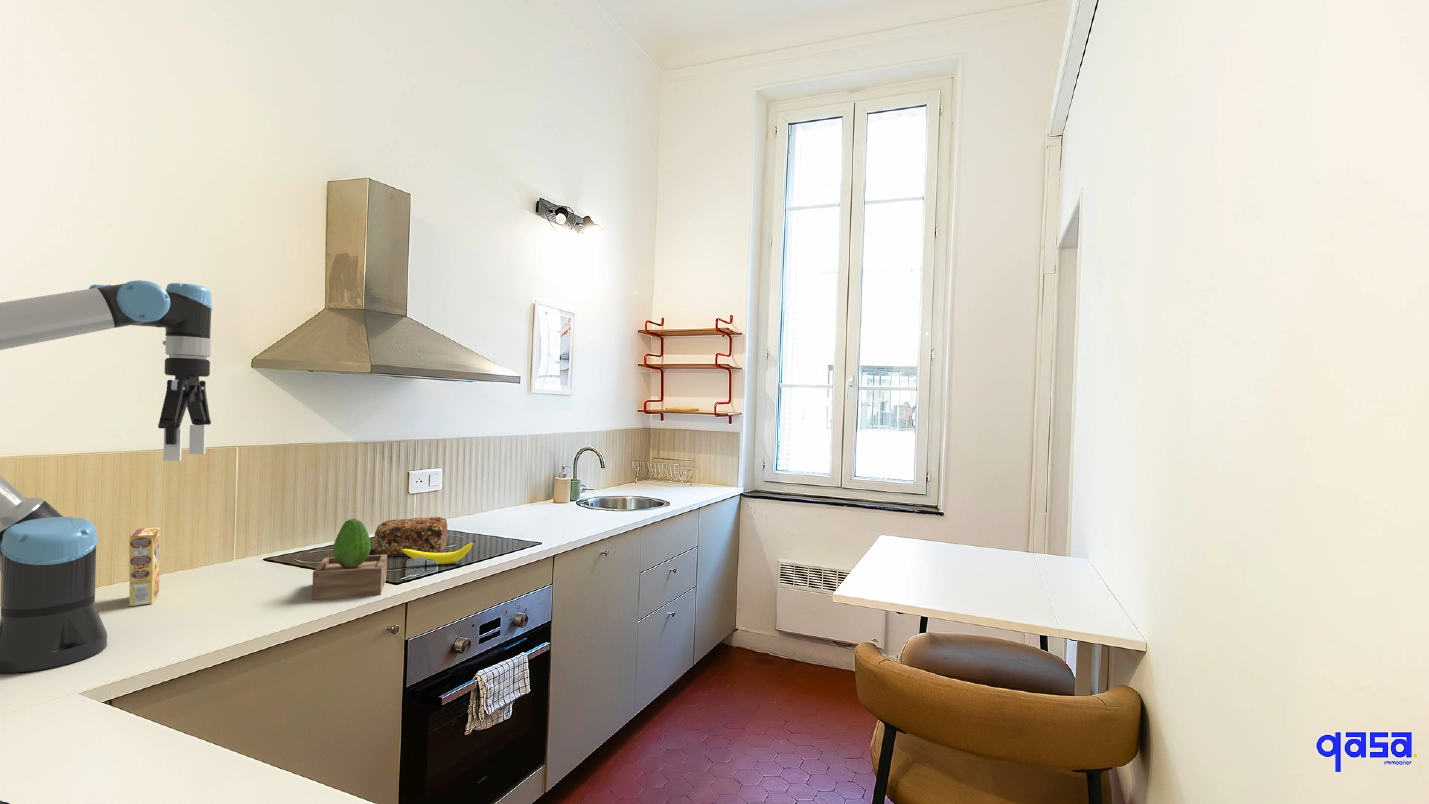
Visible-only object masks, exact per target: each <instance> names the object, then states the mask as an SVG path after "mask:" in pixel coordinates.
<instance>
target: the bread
mask: <svg viewBox="0 0 1429 804" xmlns="http://www.w3.org/2000/svg"><path fill="white" fill-rule="evenodd" d="M447 538H448V523H447V519H446V518H443V517H441V516H431V517H429V516H428V517H412V518H399V519H389V520H388V519H387V520H385V521H382V523H381V524H378V526H377V527H376V529H375V531H374V552H375V555H384V554H387V556H400V555H401V556H403V555H404V556H405V555H407V554H405V553H404V552H403V551H402V550H401V549H410V550H416V551H421V552H429V553H443V551H444V550H445V548H446V547H447V546H446V544H447ZM407 556H408V555H407Z"/></svg>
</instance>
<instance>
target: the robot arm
mask: <svg viewBox="0 0 1429 804" xmlns="http://www.w3.org/2000/svg"><path fill="white" fill-rule="evenodd" d="M212 306H213V305H212V293H211V290H210V289H209V288H207V287H206V286H203V285H199V284H191V283H181V282H173V283H172V282H171V283H168V284H167V285H166V289H164V288H163V287H162V286H160V285H159V284H157V283H155V282H152V281H149V280H142V279H141V280H139V279H138V280H131V281H128V282H125V283H120V284H113V285H111V284H96V283H95V284H92V285H90V286H89V287H88V288H87V289H81V290H74V291H69V292H68V291H67V292H62V293H61V292H60V293H55V294H49V295H47V294H46V295H42V296H41V295H39V296H36V297H28V298H22V299H17V300H11V301H10V300H9V301H3V302H0V351H2V350H8V349H13V348H19V347H24V346H28V345H29V346H30V345H35V344H38V343H39V344H40V343H44V342H45V343H46V342H49V341H54V340H59V339H65V338H69V337H75V336H80V335H85V334H90V333H94V332H95V333H96V332H100V331H106V330H110V329H115V328H116V329H117V328H123V327H128V326H138V327H140V326H141V327H153V328H159V329H160V328H164V329H165V334H164V335H165V340H163V341H162V345H163V346H165V353H164V354H165V355H166V356H168V357H166V358H165V359H164V374H165V376H174V379H168V380H167V381H166V392H165V396H164V401H163V405H162V408H161V413H160V417H159V422H158V423H157V425H158V426H157V428H158V429H163V458H162V459H163V461H164V462H166V461H167V462H169V461H170V462H172V461H173V462H175V461H176V462H178V461H179V462H181V461H182V444H183V443H182V442H183V441H182V440H183V428H180V427H181V425H182V422H183V418H184V416H185V413H186V411H187V412H188V414H189V417H190V418H189V419H190V421H191V424H190V425H189V446H188V448H189V449H188V454H189V455H205V454H206V441H207V440H206V439H207V438H206V435H207V434H206V433H207V432H206V431H207V430H206V429H207V425H209V426H210V425H211V424H212V420H211V417H210V411H209V405H208V398H207V392H206V390H207V389H206V388H207V387H206V384H207V383H206V380H200V377H206V378H207V377H209V376H210V374H211V373H210V372H211V361H210V360H209V359H208V358H209V357H211V343H212V341H211V339H212V338H211V327H212V326H211V325H212V311H213V307H212ZM98 542H99V536H98V534H97V527H96V525H95V524H94V523H93V522H92V521H91V520H88V519H85V518H82V517H81V518H79V517H78V518H76V517H72V516H64V515H62V514H61V513H60V512H59V511H58V510H57V509H55V508H54V507H53V506H52V505H50V504H49V503H48V502H47V501H46V500H45V499H44V498H41V497H26V496H25V495H24V494H23V493H21V492H20V491H19V490H18V489H16V488H15V487H14V486H13V485H12V484H11V483H10V482H9V481H7V480H6V479H5V478H4V477H2V475H0V574H1V575H0V577H1V583H0V586H1V590H0V674H12V673H13V674H16V673H28V672H34V671H40V670H46V669H51V668H57V667H60V666H64V665H68V664H72V663H75V662H78V661H82V660H86V659H88V658H90V657H93V656H95V655H97V654H99V653H100V652H102V651H104V650H105V649H107V646H108V633H107V630H106V627H105V625H104V622H103V621H102V618H101V616H100V614H99V612H98V609H97V607H96V574H97V573H96V571H97V570H96V565H97V564H96V563H97V559H96V558H97V545H98Z"/></svg>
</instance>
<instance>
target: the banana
mask: <svg viewBox="0 0 1429 804" xmlns="http://www.w3.org/2000/svg"><path fill="white" fill-rule="evenodd" d="M474 543H476V540H473V541H472V542H470V543H468V544H466V545H465V546H463V547H461V548H460V549H458V550H456V551H451V552H449V551H448V552H440V553H429V552H421V551H416V550H410V549H401V550H402V551H403V552H404V553H405V554H407V556H408V557H410V558H411V559H413V560H415V559H417V558H428V559H433V560H434V561H436V562H437V563H438V564H437V565H449V564H450V565H451V564H453V563H456V562H458V561H461V559H462V558H464V557H465V556H466V555H467V554H468V552H469V551H470V550H471V549H472V547H473V545H474Z"/></svg>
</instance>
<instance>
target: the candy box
mask: <svg viewBox="0 0 1429 804" xmlns="http://www.w3.org/2000/svg"><path fill="white" fill-rule="evenodd" d="M160 529H161V527H148V528H138V529H137V530H136V531H134V533H133V534H132V535H130V536H129V595H128V596H129V601H128V602H129V604H128V606H129V607H135V606H143V605H152V604H153V603H154V602H155V600H156V598H157V596H158V595H159V594H160V536H161V535H160V533H161V532H160Z"/></svg>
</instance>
